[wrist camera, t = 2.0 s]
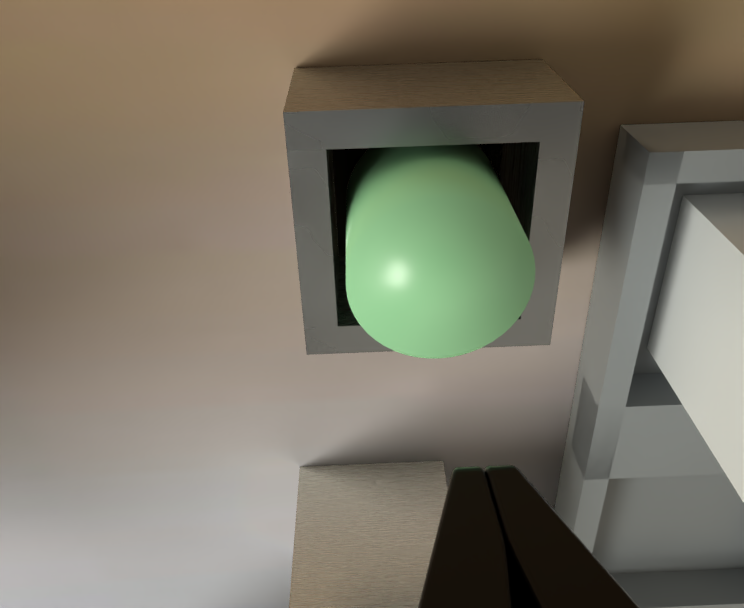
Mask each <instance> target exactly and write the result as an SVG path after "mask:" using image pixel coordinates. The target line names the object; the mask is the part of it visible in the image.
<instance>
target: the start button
mask: <svg viewBox="0 0 744 608" xmlns="http://www.w3.org/2000/svg"><path fill="white" fill-rule="evenodd" d="M534 282H535V260H534V255H533V251H532V248H531V245H530V243H529V241H528V239H527V236H526V234H525V232H524V230H523V228H522V226H521V224H520V222H519V220H518V218H517V216H516V214H515V212H514V210H513V208H512V205H511V203H510V201H509V199H508V197H507V195H506V193H505V191H504V189H503V187H502V185H501V183H500V181H499V179H498V177H497V174H496V172H495V170H494V168H493V166H492V164H491V162H490V160H489V159H488V157H487V156H486V154H485V153H484V152H483V151H482V150H481V148H480V147H479V146H478V145H477V144H464V145H437V146H410V147H383V148H369V149H368V150H367V151H366V152H365V153H364V154H363V155H362V156H361V158H360V159H359V160H358V162H357V164H356V165H355V167H354V169H353V171H352V173H351V175H350V178H349V182H348V185H347V191H346V292H347V298H348V302H349V305H350V308H351V310H352V312H353V314H354V316H355V318H356V320H357V321H358V323H359V324H360V325H361V327H362V328H363V329H364V330H365V331H366V332H367V333H368V334H369V335H370V336H371V337H372V338H374V339H375V340H376V341H378V342H379V343H381V344H382V345H384V346H386V347H388V348H390V349H392V350H394V351H396V352H399V353H402V354H405V355H409V356H414V357H420V358H448V357H454V356H459V355H463V354H466V353H469V352H472V351H475V350H477V349H479V348H482V347H484V346H486V345H487V344H489V343H491V342H493V341H494V340H496V339H497V338H498V337H500V336H501V335H503V334H504V333H505V332H506V331H507V330H508V329H509V328H510V327H511V326H512V325H513V324H514V323H515V322H516V321H517V320H518V318H519V317H520V315H521V314H522V312H523V311H524V309H525V307H526V306H527V304H528V302H529V300H530V297H531V294H532V291H533V287H534Z"/></svg>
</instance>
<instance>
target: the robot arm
mask: <svg viewBox="0 0 744 608" xmlns="http://www.w3.org/2000/svg"><path fill="white" fill-rule="evenodd" d="M418 608H640V607H639V606H638V605H637V604H636V603H635V602H634V600H633V599H632V598H631V597H630V596H629V595H628V594H627V592H626V591H625V590H624V589H623V588H622V587H621V586H620V585H619V583H618V582H617V581H616V580H615V579H614V578H613V577H612V575H611V574H610V573H609V572H608V571H607V570H606V569H605V567H604V566H603V565H602V564H601V563H600V562H599V561H598V559H597V558H596V557H595V556H594V555H593V554H592V553H591V551H590V550H589V549H588V548H587V547H586V546H585V545H584V543H583V542H582V541H581V540H580V539H579V538H578V537H577V536H576V534H575V533H574V532H573V531H572V530H571V529H570V528H569V526H568V525H567V524H566V523H565V522H564V521H563V520H562V518H561V517H560V516H559V515H558V514H557V513H556V512H555V510H554V509H553V508H552V507H551V506H550V505H549V504H548V502H547V501H546V500H545V499H544V498H543V497H542V496H541V494H540V493H539V492H538V491H537V490H536V489H535V488H534V487H533V485H532V484H531V483H530V482H529V481H528V480H527V479H526V477H525V476H524V475H523V474H522V473H521V472H520V471H519V469H518V468H516V467H515V466H512V465H501V466H488V467H486V468H485V469H484V470H483V469H482V468H481V467H457V468H455V469H454V470H453V471H452V474H451V478H450V482H449V486H448V490H447V494H446V498H445V502H444V506H443V510H442V514H441V518H440V522H439V526H438V529H437V533H436V537H435V541H434V545H433V549H432V553H431V557H430V561H429V565H428V569H427V573H426V577H425V581H424V585H423V589H422V593H421V597H420V601H419V605H418Z"/></svg>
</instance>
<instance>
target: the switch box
mask: <svg viewBox="0 0 744 608" xmlns="http://www.w3.org/2000/svg"><path fill="white" fill-rule="evenodd" d="M583 108H584V100H583V99H582V98H581V97H580V96H579V95H578V94H577V93H576V92H575V91H574V90H572V89H571V88H570V87H569V86H568V85H567V84H566V83H565V82H564V81H563V80H562V79H561V78H560V77H559V76H558V75H557V74H556V73H555V72H554V71H553V70H552V69H551V68H550V67H549V66H548V65H547V64H546V63H545V62H544V61H543V60H542V59H537V60H509V61H481V62H452V63H424V64H395V65H367V66H339V67H310V68H294V72H293V76H292V80H291V83H290V87H289V91H288V95H287V99H286V103H285V107H284V111H283V116H284V126H285V136H286V146H287V157H288V167H289V177H290V187H291V198H292V208H293V218H294V228H295V239H296V249H297V259H298V269H299V280H300V290H301V300H302V310H303V321H304V331H305V341H306V351H307V355H309V354H334V353H358V352H383V351H394V350H392V349H390V348H388V347H386V346H384V345H382V344H381V343H379V342H378V341H376V340H375V339H374V338H372V337H371V336H370V335H369V334H368V333H367V332H366V331H365V330H364V329H363V328H362V327H361V325H360V324H359V323H358V321H357V320H356V318H355V316H354V314H353V312H352V310H351V308H350V305H349V302H348V298H347V292H346V256H339V249H338V232H337V215H336V199H335V182H334V165H333V149H355V148H383V147H410V146H437V145H464V144H492V143H503V146H502V159H501V171H500V183H501V185H502V187H503V189H504V191H505V193H506V195H507V197H508V199H509V201H510V203H511V205H512V208H513V210H514V212H515V214H516V216H517V218H518V220H519V222H520V224H521V226H522V228H523V230H524V232H525V234H526V236H527V239H528V241H529V243H530V245H531V248H532V251H533V255H534V260H535V282H534V287H533V291H532V294H531V297H530V300H529V302H528V304H527V306H526V307H525V309H524V311H523V312H522V314H521V315H520V317H519V318H518V320H517V321H516V322H515V323H514V324H513V325H512V326H511V327H510V328H509V329H508V330H507V331H506V332H505V333H504V334H503V335H501V336H500V337H498V338H497V339H496V340H494V341H493V342H491V343H489V344H487V345H486V346H484V347H507V346H532V345H550V342H551V335H552V328H553V321H554V314H555V306H556V299H557V292H558V285H559V278H560V271H561V264H562V257H563V250H564V243H565V236H566V228H567V221H568V214H569V207H570V200H571V193H572V186H573V179H574V172H575V165H576V158H577V150H578V143H579V136H580V129H581V122H582V115H583ZM482 348H483V347H482Z"/></svg>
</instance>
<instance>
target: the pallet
mask: <svg viewBox="0 0 744 608" xmlns="http://www.w3.org/2000/svg"><path fill="white" fill-rule="evenodd" d="M554 510H555V512H556V513H557V514H558V515H559V516H560V517H561V518H562V520H563V521H564V522H565V523H566V524H567V525H568V526H569V528H570V529H571V530H572V531H573V532H574V533H575V534H576V536H577V537H578V538H579V539H580V540H581V541H582V542H583V543H584V545H585V546H586V547H587V548H588V549H589V550H590V551H591V553H592V554H593V555H594V556H595V557H596V558H597V559H598V561H599V562H600V563H601V564H602V565H603V566H604V567H605V569H606V570H607V571H608V572H609V573H610V574H611V575H612V577H613V578H614V579H615V580H616V581H617V582H618V583H619V585H620V586H621V587H622V588H623V589H624V590H625V591H626V592H627V594H628V595H629V596H630V597H631V598H632V599H633V600H634V602H635V603H636V604H637V605H638V606H639V607H640V608H744V120H743V121H715V122H688V123H660V124H633V125H620V131H619V137H618V143H617V149H616V154H615V160H614V166H613V172H612V178H611V183H610V189H609V195H608V201H607V207H606V212H605V218H604V224H603V230H602V235H601V241H600V247H599V253H598V259H597V264H596V270H595V276H594V282H593V288H592V293H591V299H590V305H589V311H588V316H587V322H586V328H585V334H584V340H583V345H582V351H581V357H580V363H579V369H578V374H577V380H576V386H575V392H574V397H573V403H572V409H571V415H570V421H569V426H568V432H567V438H566V444H565V450H564V455H563V461H562V467H561V473H560V479H559V484H558V490H557V496H556V502H555V507H554Z"/></svg>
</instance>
